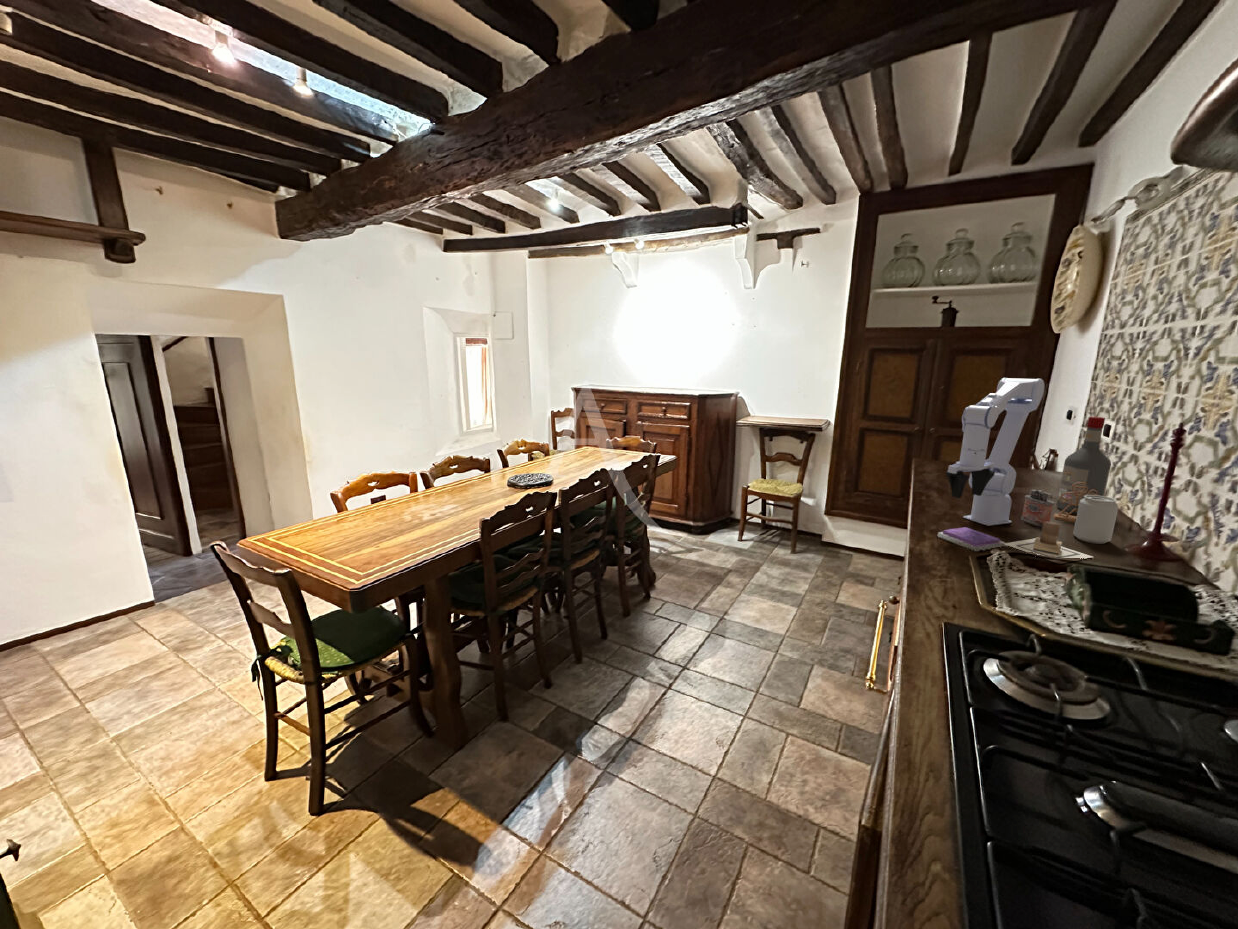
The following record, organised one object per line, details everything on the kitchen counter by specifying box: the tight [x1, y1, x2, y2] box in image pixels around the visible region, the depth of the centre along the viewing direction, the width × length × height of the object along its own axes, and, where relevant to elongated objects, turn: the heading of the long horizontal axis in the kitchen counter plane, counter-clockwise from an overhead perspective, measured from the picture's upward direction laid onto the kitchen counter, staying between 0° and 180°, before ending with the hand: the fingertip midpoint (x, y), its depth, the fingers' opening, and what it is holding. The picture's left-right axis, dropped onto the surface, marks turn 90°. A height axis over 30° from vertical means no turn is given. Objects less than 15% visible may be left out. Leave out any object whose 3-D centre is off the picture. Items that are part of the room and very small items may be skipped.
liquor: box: [1056, 416, 1112, 515], centre depth 151 cm, size 9×9×30 cm
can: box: [1072, 495, 1120, 545], centre depth 129 cm, size 8×8×12 cm
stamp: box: [1033, 521, 1063, 555], centre depth 123 cm, size 5×5×7 cm
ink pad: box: [937, 526, 1006, 552], centre depth 130 cm, size 10×11×2 cm
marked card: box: [1004, 537, 1094, 560], centre depth 123 cm, size 12×13×1 cm
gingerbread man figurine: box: [1052, 482, 1098, 523], centre depth 144 cm, size 9×4×12 cm, turn 51°
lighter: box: [1020, 489, 1055, 528], centre depth 143 cm, size 8×3×10 cm, turn 5°
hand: (966, 496), depth 136 cm, fingers open, 7 cm apart
